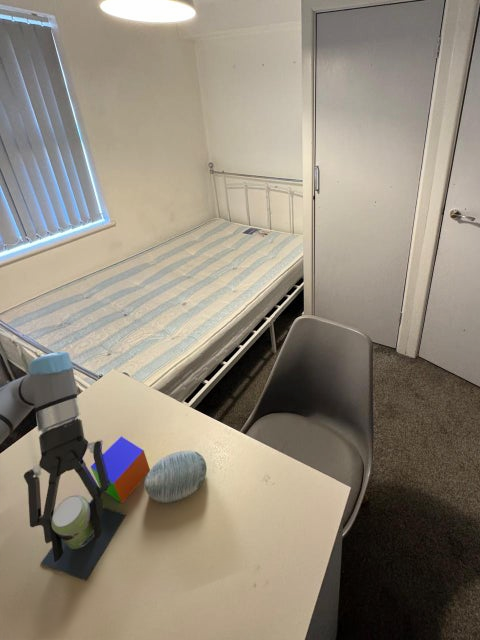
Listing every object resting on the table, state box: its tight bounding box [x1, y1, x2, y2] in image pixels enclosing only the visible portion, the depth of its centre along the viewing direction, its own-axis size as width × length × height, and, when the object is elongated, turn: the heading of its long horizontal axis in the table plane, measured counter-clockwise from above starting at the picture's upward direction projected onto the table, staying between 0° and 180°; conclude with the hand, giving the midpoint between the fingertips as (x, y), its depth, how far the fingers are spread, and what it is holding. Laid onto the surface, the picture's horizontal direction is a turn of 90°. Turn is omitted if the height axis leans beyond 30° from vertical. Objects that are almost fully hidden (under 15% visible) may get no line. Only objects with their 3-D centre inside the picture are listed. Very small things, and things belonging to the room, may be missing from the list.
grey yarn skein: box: [144, 450, 208, 504], centre depth 76 cm, size 14×10×10 cm
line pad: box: [40, 507, 127, 581], centre depth 68 cm, size 11×11×1 cm
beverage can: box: [51, 494, 94, 549], centre depth 66 cm, size 6×7×12 cm
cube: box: [90, 436, 151, 504], centre depth 77 cm, size 8×8×8 cm
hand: (79, 546), depth 64 cm, fingers closed on beverage can, 6 cm apart
